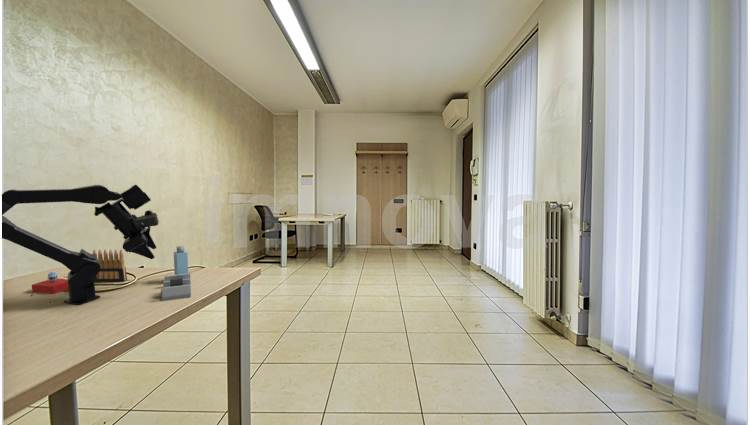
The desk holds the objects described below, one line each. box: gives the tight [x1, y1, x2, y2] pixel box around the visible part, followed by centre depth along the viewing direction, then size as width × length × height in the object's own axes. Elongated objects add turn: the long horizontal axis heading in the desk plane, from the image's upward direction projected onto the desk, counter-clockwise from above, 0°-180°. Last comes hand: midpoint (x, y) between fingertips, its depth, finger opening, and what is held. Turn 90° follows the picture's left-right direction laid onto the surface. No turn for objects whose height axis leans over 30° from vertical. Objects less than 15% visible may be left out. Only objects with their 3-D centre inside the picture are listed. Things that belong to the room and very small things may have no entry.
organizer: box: [161, 272, 192, 302], centre depth 116 cm, size 8×14×6 cm, turn 29°
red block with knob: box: [31, 271, 68, 295], centre depth 114 cm, size 8×7×6 cm
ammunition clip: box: [92, 249, 128, 283], centre depth 123 cm, size 11×2×12 cm, turn 98°
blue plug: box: [173, 245, 189, 275], centre depth 126 cm, size 4×4×13 cm
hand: (154, 253), depth 118 cm, fingers open, 9 cm apart
